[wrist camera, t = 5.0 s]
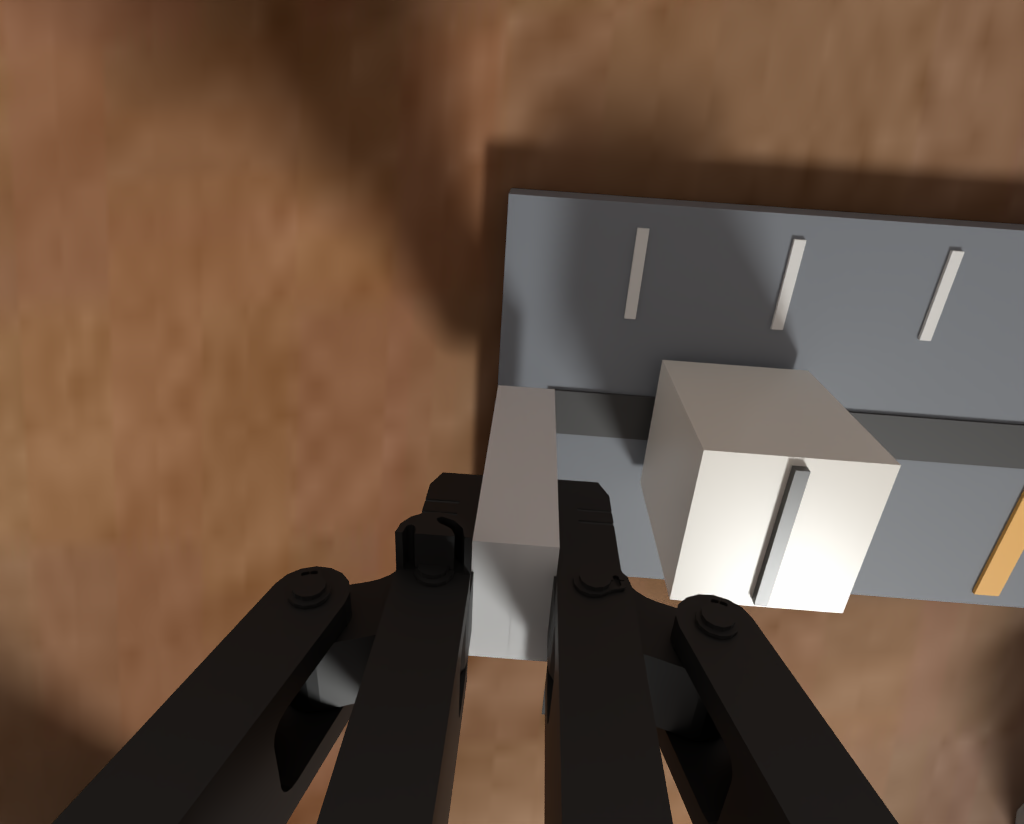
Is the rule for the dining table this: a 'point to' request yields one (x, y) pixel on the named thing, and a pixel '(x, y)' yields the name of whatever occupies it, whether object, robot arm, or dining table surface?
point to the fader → (760, 486)
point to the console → (788, 357)
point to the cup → (1020, 815)
